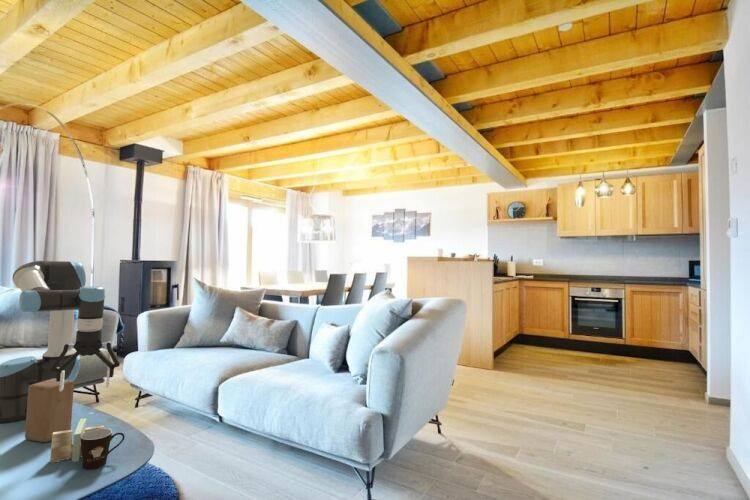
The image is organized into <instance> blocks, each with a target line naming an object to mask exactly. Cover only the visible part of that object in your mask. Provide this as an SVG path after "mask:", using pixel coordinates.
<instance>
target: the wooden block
mask: <svg viewBox="0 0 750 500" xmlns="http://www.w3.org/2000/svg"><path fill="white" fill-rule="evenodd" d="M59 388H60V381H58V382H57V381H56V378H53V379H50V380H46V381H43V382H39V383H35V384H32V385H30V386H29V389H28V402H27V416H26V419H25V429H24V430H25V433H24V438H25V440H27V441H33V442H41V443H47V442H50V441H51V442H52V434H53V432H59V431H66V430H72V418H73V403H74V401H73V400H74V388H75V380H73V381H71V380H64V388H63V390H62V391H59Z"/></svg>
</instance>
